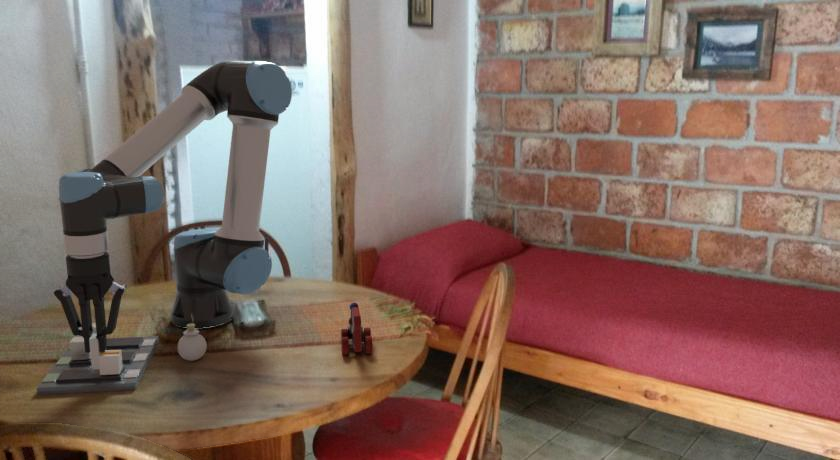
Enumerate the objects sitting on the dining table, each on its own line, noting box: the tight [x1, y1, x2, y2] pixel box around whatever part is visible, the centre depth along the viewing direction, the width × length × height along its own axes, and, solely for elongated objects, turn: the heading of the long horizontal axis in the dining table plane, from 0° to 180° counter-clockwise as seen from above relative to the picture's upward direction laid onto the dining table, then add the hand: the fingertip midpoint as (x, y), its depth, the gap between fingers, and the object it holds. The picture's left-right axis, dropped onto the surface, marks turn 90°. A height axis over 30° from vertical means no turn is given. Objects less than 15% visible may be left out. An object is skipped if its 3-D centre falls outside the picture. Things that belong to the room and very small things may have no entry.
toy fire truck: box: [340, 302, 374, 356], centre depth 155 cm, size 7×12×10 cm, turn 8°
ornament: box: [177, 313, 208, 362], centre depth 148 cm, size 6×7×10 cm
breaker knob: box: [99, 350, 123, 375], centre depth 136 cm, size 4×3×4 cm
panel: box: [36, 322, 160, 396], centre depth 143 cm, size 18×24×6 cm
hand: (97, 366), depth 136 cm, fingers closed
